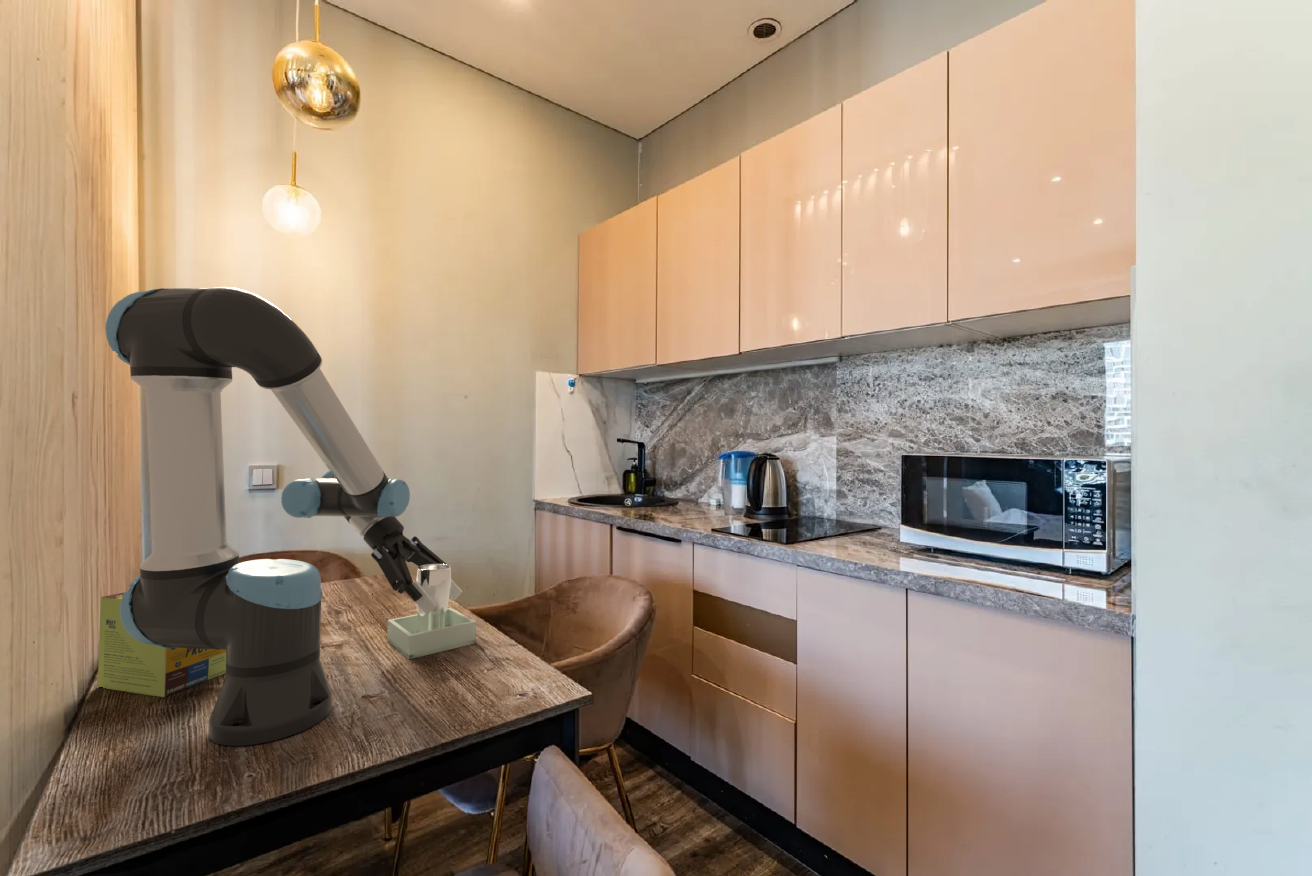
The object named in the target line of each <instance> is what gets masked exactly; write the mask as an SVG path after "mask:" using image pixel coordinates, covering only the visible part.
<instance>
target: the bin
mask: <svg viewBox="0 0 1312 876" xmlns="http://www.w3.org/2000/svg"><path fill="white" fill-rule="evenodd" d="M417 627H418V613H416V614H412V615H407V616H402V617H401V616H400V617H395V618H391V619H388V620H387V628H386V629H387V630H386V631H387V633H386V634H387V635H386V637H387V639H386V640H387V643H388V644H390V645H391V646H392V647H393V648H395V649H396V650H397V651H398V652H400V653H401V654H402V655H403V656H404V657H405V658H407V659H408V660H412V659H416V658H420V657H424V656H429V655H433V654H437V653H441V652H445V651H449V650H453V649H457V648H462V647H466V646H470V645H473V644H477V621H476V620H474V619H472V618H470V617H468V615H465V614H463V613H461V612H460V611H458V610H456V609H454V608H452V607H447V610H446V615H445V627H443V628H439V629H434V630H429V631H425V632H420V633H416V631H417Z"/></svg>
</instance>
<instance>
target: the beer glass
mask: <svg viewBox="0 0 1312 876" xmlns="http://www.w3.org/2000/svg"><path fill="white" fill-rule="evenodd" d="M451 570H452V568H451V565H450V564H447V563H446V564H426V565H421V566H417V572H416V581H417V582H418V583H419V584H420V585H421V587H422V588H423V589H424V590H425V591H426V592H427V593H428V594H429V596H430V597H431V598H432V599H433V600H434V601H435V602H436V604H437V606H436V607H435V608H434V609H433V610H432V611H431V612H430V613H429V614H427V615H426V614H425V613H424V611H423V610H422V609H421V608H420V607H419V606H418V605H417V603H416V602H415V604H416V611H417V612H416V613H417V614H418V627H417V631H416V633H420V632H425V631H429V630H434V629H439V628H443V627H445V615H446V610H447V608H448V607H449V605H448V604H449V602H450V590H451V579H452V571H451ZM416 581H415V582H416Z"/></svg>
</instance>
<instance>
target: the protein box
mask: <svg viewBox="0 0 1312 876" xmlns="http://www.w3.org/2000/svg"><path fill="white" fill-rule="evenodd" d="M123 594H124V592H119V593H113V594H109V595H104V596H101V597H100V610H99V611H100V612H99V613H100V614H99V635H98V636H99V637H98V638H99V639H98V642H99V643H98V667H97V669H98V670H97V688H99V687H103V688H102V689H105V688H106V689H107V690H113V691H118V692H119V691H121V692H125V691H126V692H127V693H132V694H140V695H147V696H154V697H159V698H160V697H161V698H166V697H168V696H171V695H173V694H175V693H179V692H181V691H183V690H186V689H189V688H191V687H193V686H196V685H199V684H201V683H204V682H206V681H209V680H212V679H215V678H217V677H219V676H223V675H226V650H225V649H202V648H164V647H160V646H156V645H148V644H144V643H141V642H139V641H137V640H136V639H134V638H133V637H131V636H130V635H129V634H128V632H127V631H126V630H125V628H124V626H123V624H122V621H121V618H120V604H121V600H122V597H123Z"/></svg>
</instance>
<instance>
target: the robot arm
mask: <svg viewBox="0 0 1312 876" xmlns="http://www.w3.org/2000/svg"><path fill="white" fill-rule="evenodd" d="M105 335H106V341H107V343H108V346H109V347H110V349H111V351H112V352H115V353H116V354H117V355H116V356H117V358H118V359H120V361H122V362H124V363H125V364H127V365H129V369H130V370H129V371H130V379H131V380H132V381H133V382H134V383H136V384H137V385H139V387H141V388H143V390H144V391H145V406H146V426H147V428H146V430H147V444H148V445H147V447H148V469H149V489H150V507H151V508H150V509H151V510H150V511H151V512H150V513H151V529H152V530H151V531H152V552H151V554H150V555H148V557H147V558H146V559H144V560H143V561H142V562H140V565H139V575H138V576H136V577H135V578H134V579H133V580H132V581H131V582H130V584H129V585H128V588H129V589H128V590H126V591H124V592H123V593H124V594H123V597H122V600H121V604H120V618H121V621H122V624H123V626H124V628H125V630H126V631H127V632H128V634H129V635H130V636H131V637H133V638H134V639H136V640H137V641H139V642H141V643H144V644H148V645H156V646H160V647H164V648H202V649H225V650H226V673H225V677H224V679H223V680H224V681H223V683H222V686H221V687H220V691H219V693H218V696H217V698H216V701H215V703H214V705H213V709H212V710H211V714H210V717H209V721H208V738H209V739H210V741H212V742H213V743H215V744H218V745H222V746H228V747H229V746H230V747H234V746H235V747H236V746H237V747H240V746H252V745H258V744H259V745H260V744H265V743H270V742H273V741H278V740H281V739H284V738H287V737H291V736H293V735H295V734H298V733H301V732H303V731H306V730H308V729H310V728H312V727H314V726H315V725H317V724H319V723H320V722H322V721H324V719H326V717H327V716H328V715H330V713H331V711H332V709H333V708H332V707H333V693H332V690H331V687H330V684H329V681H328V679H327V676H326V674H325V673H326V672H325V670H324V668H323V665H322V663H321V659H320V658H321V657H320V656H321V653H320V652H321V624H322V623H321V622H322V621H321V620H322V619H321V618H322V599H323V590H322V584H321V583H322V581H321V580H322V579H321V573H320V571H319V569H318V568H317V567H316V566H314V565H313V564H311V563H310V562H306V561H301V560H298V559H296V560H295V559H288V558H287V559H286V558H277V559H271V558H262V559H261V558H260V559H251V560H247V561H242V562H240V551H239V550H238V549H236V548H235V547H233V546H232V545H230V544H229V543H228V542H227V519H226V518H227V517H226V496H225V494H226V493H225V475H224V474H225V471H224V470H225V469H224V468H225V466H224V447H223V419H222V418H223V417H222V400H221V399H222V398H221V397H222V395H221V392H223V390H224V389H225V388H226V387H227V386H229V385H230V384H231V383H232V382H233V368H236V369H240V370H242V371H244V372H246V373H247V374H249V375H250V376H251V377H252V378H253V380H254V381H255V382H256V384H257V385H258V386H259V387H260V388H262V389H264V390H265V389H266V390H271V391H272V393H273V395H274V396H275V398H277V400H278V401H279V403H280V404H281V405H282V407H283V408H284V410H285V411H286V413H287V414H288V415H289V417H290V418H291V419H292V421H293V422H294V424H295V425H296V426H297V427H298V429H299V430H300V431H301V433H302V435H303V436H304V437H305V439H306V440H307V441H308V443H309V444H310V446H311V447H312V448H313V450H314V451H315V452H316V454H317V455H318V457H319V458H320V460H321V461H322V462H323V464H324V465H325V467H326V468H327V469H328V471H327V472H325V473H324V474H323V476H321V477H315V478H312V477H304V478H300V479H294V480H292V481H291V482H289V483H287V484H286V485H285V487H284V488H283V490H282V492H281V500H280V501H281V507H282V509H283V510H284V511H285V513H286V514H287V515H289V516H290V517H292V518H296V519H298V518H304V519H305V518H307V519H310V518H313V517H343V518H344V519H345V520H346V521H347V523H349V524H350V525H351V527H352V528H353V529H354V531H355V532H357V534H358V535H359V536H360V537H363V541H364V542H365V543H366V545H368V546H369V547H370V549H371V550H372V552H371V554H370V556H371V557H372V559H374V561H375V562H376V563H377V564H378V566H379V568H380V569H381V571H382V573H383V575H384V576H385V578H386V580H387V581H388V582H389V585H390V586H391V588H392V589H393V591H395V592H397V593H399V594H401V595H402V594H403V593H404V592H406V594H408V596H409V597H410V598H411V599H412V601H414V602H415V604H416V603H417V605H418V606H419V607H420V608H421V609H422V610H423V611H424V613H425V614H426V615H427V614H429V613H430V612H431V611H432V610H433V609H434V608H435V607H436V606H437V604H436V602H435V601H434V600H433V599H432V598H431V597H430V596H429V594H428V593H427V592H426V591H425V590H424V589H423V588H422V587H421V585H420V584H419V583H418V582H417V581H413V577H412V575H411V573H410V569H409V567H408V564H407V563H413V564H414V565H416V566H417V567H419V566H421V565H426V564H447V563H446V562H445V561H444V560H442V559H441V558H440V557H439V556H438V555H436V553H434V552H433V551H432V550H431V549H429V548H428V547H427V546H426V545H425V544H424V543H422V541H421V540H420V539H419V538H418V536H415V535H414V536H413V537H412V538H410V539H409V538H407V537H406V536H405V535H404V529H405V528H404V525H403V524H402V523H401V522H400V521H399V519H397V517H399V516H401V515H402V514H404V512H406V510H407V508H408V506H409V503H410V499H411V493H410V487H409V485H408V484H407V483H406V481H404V480H403V479H400V478H394V477H392V478H389V477H388V476H387V475H386V473H385V472H384V469H383V468H382V466H381V465H380V463H379V462H378V460H377V458H376V457H375V456H374V454H373V452H372V449H370V447H369V445H368V444H367V443H366V440H364V437H363V436H362V434H361V433H360V431H359V429H358V428H357V426H356V424H355V423H354V421H353V420H352V418H351V416H350V415H349V413H348V412H347V410H346V408H345V406H344V405H343V403H342V402H341V401H340V399H339V397H338V395H337V394H336V392H335V391H334V389H333V387H332V385H331V384H330V382H329V381H328V379H327V378H326V376H325V375H324V373H323V371H322V370H321V367H322V364H323V358H322V357H321V355H320V353H319V352H318V350H317V348H316V347H315V345H314V344H313V342H312V341H311V340H310V338H309V336H307V334H306V333H305V332H304V331H303V329H302V328H300V326H298V325H297V323H296V322H295V321H294V320H293V319H292V318H291V317H290V316H289V315H287V314H286V313H285V312H283V311H282V309H280V308H279V307H278V306H276V305H274V304H273V303H272V302H271V301H268V300H267V299H265V298H263V297H261V296H260V295H258V294H256V293H253V292H250V291H248V290H244V289H242V288H241V289H240V288H237V287H229V286H228V287H227V286H219V287H207V288H205V287H202V288H201V287H199V288H197V287H196V288H195V287H192V288H191V287H190V288H185V287H184V288H174V287H173V288H163V287H161V288H153V289H149V290H143V291H136V292H134V293H130V294H128V295H126V296H125V297H123V298H122V299H120V300H118V301H117V302H115V304H114V305H113V306H112V307H111V309H110V311H109V313H108V315H107V318H106V323H105ZM462 593H463V590H462V589H461V588H460V586H458V584H456V582H455V581H454V580H453V579H452V578H451V590H450V597H449V599H451V600H452V601H455V600H456V599H457V598H458V597H459V596H460V595H461V594H462ZM417 605H416V606H417Z"/></svg>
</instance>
